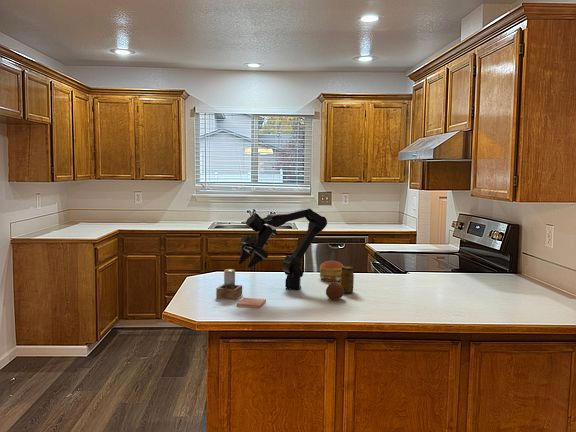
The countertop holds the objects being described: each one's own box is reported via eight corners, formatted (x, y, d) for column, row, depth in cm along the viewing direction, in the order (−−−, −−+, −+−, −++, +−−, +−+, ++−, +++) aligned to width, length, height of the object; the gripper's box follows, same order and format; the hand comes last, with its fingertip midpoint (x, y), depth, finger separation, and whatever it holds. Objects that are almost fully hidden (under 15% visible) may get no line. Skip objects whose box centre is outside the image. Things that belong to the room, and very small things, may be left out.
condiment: (350, 290, 252) (350, 265, 251) (358, 294, 244) (359, 269, 243) (336, 291, 250) (336, 266, 248) (344, 295, 242) (344, 269, 241)
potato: (340, 295, 241) (341, 279, 240) (347, 301, 231) (347, 285, 230) (322, 296, 240) (323, 280, 239) (328, 302, 229) (329, 285, 228)
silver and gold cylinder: (236, 289, 237) (236, 269, 236) (232, 291, 233) (232, 271, 232) (226, 288, 238) (226, 268, 238) (222, 291, 234) (222, 271, 233)
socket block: (242, 295, 239) (242, 285, 239) (235, 299, 230) (235, 289, 230) (223, 293, 241) (223, 283, 241) (216, 298, 232) (216, 288, 232)
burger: (314, 278, 278) (315, 259, 277) (337, 276, 283) (337, 257, 282) (326, 283, 266) (326, 264, 265) (349, 281, 271) (350, 262, 270)
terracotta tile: (265, 302, 228) (265, 299, 228) (259, 308, 218) (259, 305, 218) (243, 300, 230) (243, 297, 230) (236, 306, 220) (236, 303, 220)
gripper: (241, 225, 247) (222, 252, 243) (259, 230, 231) (239, 259, 227) (257, 238, 252) (239, 265, 248) (276, 244, 236) (257, 273, 232)
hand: (243, 265), depth 239 cm, fingers open, 9 cm apart
